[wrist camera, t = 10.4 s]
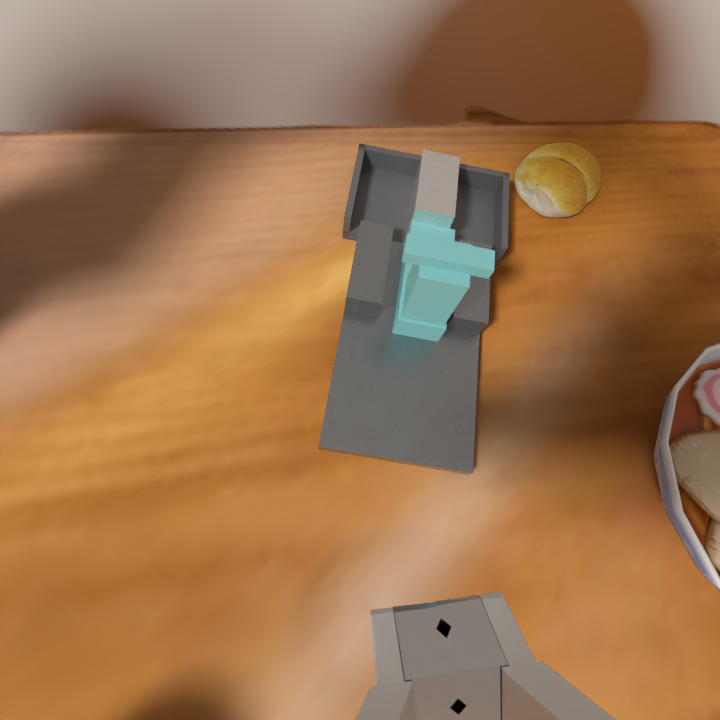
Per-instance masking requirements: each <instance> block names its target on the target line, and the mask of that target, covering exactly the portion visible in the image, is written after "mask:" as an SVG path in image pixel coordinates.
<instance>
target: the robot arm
mask: <svg viewBox="0 0 720 720" xmlns="http://www.w3.org/2000/svg"><path fill="white" fill-rule="evenodd" d="M370 619H371V629H372V639H373V649H374V659H375V669H376V679H377V686H372V687H370V689H369V691H368V693H367V695H366V697H365V699H364V702H363V704H362V706H361V708H360V710H359V713H358V715H357V717H356V719H355V720H615V719H614V718H613V717H612V716H610V715H609V714H608V713H607V712H605V711H604V710H603V709H602V708H600V707H599V706H598V705H597V704H595V703H594V702H593V701H592V700H590V699H589V698H588V697H587V696H585V695H584V694H583V693H582V692H580V691H579V690H578V689H577V688H575V687H574V686H573V685H572V684H570V683H569V682H568V681H567V680H565V679H564V678H563V677H562V676H560V675H559V674H558V673H557V672H555V671H554V670H553V669H552V668H550V667H549V666H548V665H547V664H545V663H544V662H543V661H542V662H535V660H534V658H533V655H532V653H531V651H530V649H529V647H528V645H527V643H526V641H525V639H524V637H523V635H522V633H521V631H520V629H519V627H518V624H517V622H516V620H515V618H514V616H513V614H512V612H511V610H510V608H509V606H508V604H507V602H506V600H505V598H504V596H503V595H502V594H501V593H500V592H496V593H489V594H482V595H478V596H477V595H473V596H467V597H460V598H454V599H448V600H441V601H435V602H433V603H424V604H415V605H406V606H397V607H393V609H392V607H391V608H382V609H374V610H371V611H370Z"/></svg>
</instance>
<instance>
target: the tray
mask: <svg viewBox="0 0 720 720" xmlns="http://www.w3.org/2000/svg"><path fill="white" fill-rule="evenodd" d="M420 158H421V156H419V155H414V154H409V153H404V152H399V151H394V150H389V149H384V148H379V147H374V146H369V145H364V144H359V149H358V154H357V159H356V164H355V168H354V173H353V178H352V183H351V188H350V192H349V197H348V202H347V207H346V212H345V216H344V226H343V237H342V238H344V239H350V240H355V241H357V238H358V233H359V228H360V223H361V220H364V221H369V222H374V223H379V224H384V225H390V226H394V229H393V236H392V241H396V242H401V243H404V242H405V239H406V232H407V225H408V218H409V211H410V210H409V209H410V203H411V196H412V189H413V182H414V179H415V175H416V172H417V168H418V165H419V162H420ZM509 175H510V174H509V173H504V172H499V171H494V170H489V169H484V168H479V167H474V166H469V165H464V164H459V175H458V189H457V199H456V210H455V218H454V220H453V222H452V224H451V227H450V229H454V230H455V240H454V241H457V242H458V241H459V239H462V240H468V241H473V242H478V243H483V244H488V245H492V250H495V264H494V267H495V266H496V264H497V263H498V261H499V260H500V259H501V257H502V256H503V254H504V253H505V252H506V250H507V249H508V220H509Z"/></svg>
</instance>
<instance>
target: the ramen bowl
mask: <svg viewBox="0 0 720 720" xmlns="http://www.w3.org/2000/svg"><path fill="white" fill-rule="evenodd" d="M654 462H655V467H656V472H657V477H658V482H659V487H660V492H661V497H662V502H663V506H664V509H665V511H666V513H667V515H668V517H669V518H670V520H671V522H672V524H673V526H674V528H675V530H676V531H677V533H678V535H679V537H680V539H681V541H682V542H683V544H684V546H685V548H686V550H687V552H688V554H689V555H690V557H691V559H692V561H693V563H694V565H695V566H696V568H697V569H698V570H699V571H700V572H701V573H702V574H703V575H704V576H705V577H706V578H707V579H708V580H709V581H710V582H711V583H712V584H713V585H714V586H715V587H716V588H717V589H718V590H719V591H720V343H718V344H715V345H712V346H709V347H706V348H705V349H704V351H703V352H702V353H701V354H700V356H699V357H698V358H697V359H696V360H695V362H694V363H693V364H692V365H691V367H690V368H689V369H688V370H687V371H686V373H685V374H684V375H683V376H682V378H681V379H680V380H679V381H678V382H677V384H676V385H675V386H674V388H673V389H672V391H671V392H670V394H669V395H668V396H667V399H666V402H665V405H664V408H663V411H662V416H661V421H660V426H659V431H658V436H657V441H656V446H655V451H654Z"/></svg>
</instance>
